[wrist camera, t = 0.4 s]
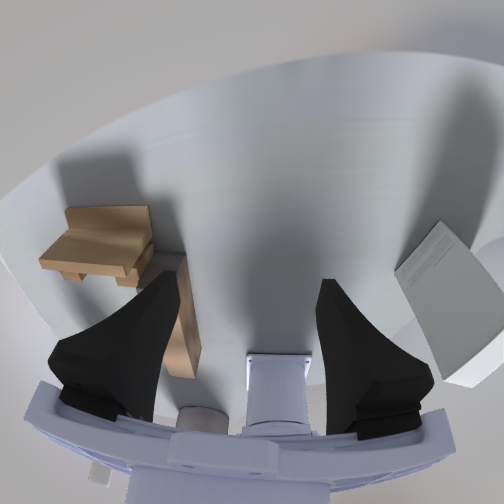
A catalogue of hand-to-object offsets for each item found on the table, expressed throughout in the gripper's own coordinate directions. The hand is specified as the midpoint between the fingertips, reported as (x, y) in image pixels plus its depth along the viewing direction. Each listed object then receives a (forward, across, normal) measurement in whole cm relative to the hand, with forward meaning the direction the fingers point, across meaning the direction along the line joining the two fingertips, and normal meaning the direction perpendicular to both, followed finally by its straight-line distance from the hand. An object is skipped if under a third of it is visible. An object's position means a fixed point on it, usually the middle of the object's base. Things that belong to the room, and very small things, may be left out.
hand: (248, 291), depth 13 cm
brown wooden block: (+10, +8, +12) cm, 17 cm away
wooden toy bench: (+10, +14, +3) cm, 17 cm away
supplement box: (+10, -18, +4) cm, 21 cm away
